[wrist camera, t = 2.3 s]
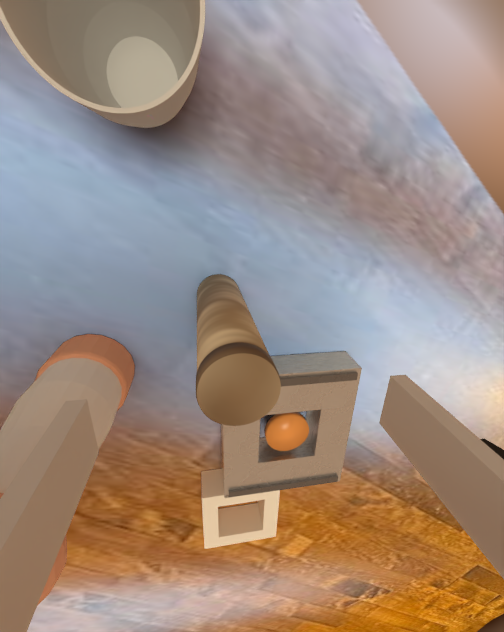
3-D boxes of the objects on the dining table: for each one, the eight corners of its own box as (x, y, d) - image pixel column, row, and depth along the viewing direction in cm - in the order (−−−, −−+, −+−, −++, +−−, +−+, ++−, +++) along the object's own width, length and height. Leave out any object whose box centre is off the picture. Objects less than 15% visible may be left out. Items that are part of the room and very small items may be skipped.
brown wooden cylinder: (197, 316, 28) (197, 431, 14) (195, 274, 26) (193, 357, 13) (239, 314, 29) (279, 422, 15) (240, 273, 27) (284, 351, 13)
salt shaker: (75, 319, 26) (-175, 571, 9) (149, 356, 29) (74, 608, 11) (38, 379, 27) (-237, 697, 10) (112, 409, 30) (-5, 702, 13)
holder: (204, 519, 39) (204, 548, 36) (201, 471, 35) (201, 498, 32) (269, 509, 40) (275, 536, 37) (272, 461, 37) (280, 486, 34)
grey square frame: (221, 471, 36) (224, 500, 33) (219, 359, 30) (222, 380, 27) (327, 457, 38) (340, 483, 35) (345, 351, 32) (363, 369, 29)
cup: (217, 51, 21) (234, -64, 12) (180, 166, 23) (169, 147, 14) (97, -26, 18) (-3, -247, 9) (68, 113, 21) (-34, 46, 11)
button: (263, 446, 33) (265, 453, 32) (265, 412, 31) (267, 418, 30) (304, 442, 34) (306, 448, 33) (308, 408, 32) (311, 414, 31)
